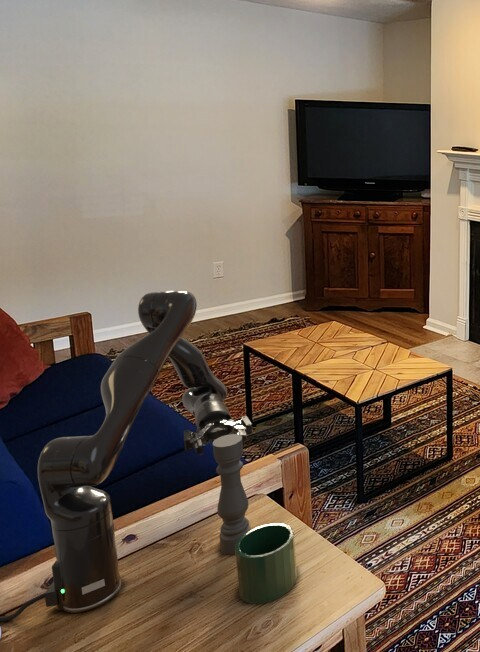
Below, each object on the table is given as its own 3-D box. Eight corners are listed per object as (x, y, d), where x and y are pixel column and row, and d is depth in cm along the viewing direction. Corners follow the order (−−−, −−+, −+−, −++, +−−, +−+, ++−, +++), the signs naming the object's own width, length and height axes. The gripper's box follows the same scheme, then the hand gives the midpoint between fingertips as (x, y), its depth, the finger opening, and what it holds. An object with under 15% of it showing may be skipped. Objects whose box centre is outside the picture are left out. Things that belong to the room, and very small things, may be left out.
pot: (233, 608, 119) (229, 562, 117) (245, 571, 129) (241, 528, 127) (292, 597, 122) (289, 552, 120) (299, 562, 132) (296, 519, 130)
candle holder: (257, 537, 140) (249, 434, 136) (240, 555, 134) (232, 448, 130) (231, 535, 140) (223, 432, 137) (214, 553, 134) (204, 446, 131)
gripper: (178, 412, 151) (185, 439, 138) (242, 397, 160) (254, 421, 147) (181, 440, 153) (188, 469, 140) (245, 424, 161) (257, 450, 148)
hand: (222, 445), depth 143 cm, fingers open, 8 cm apart
